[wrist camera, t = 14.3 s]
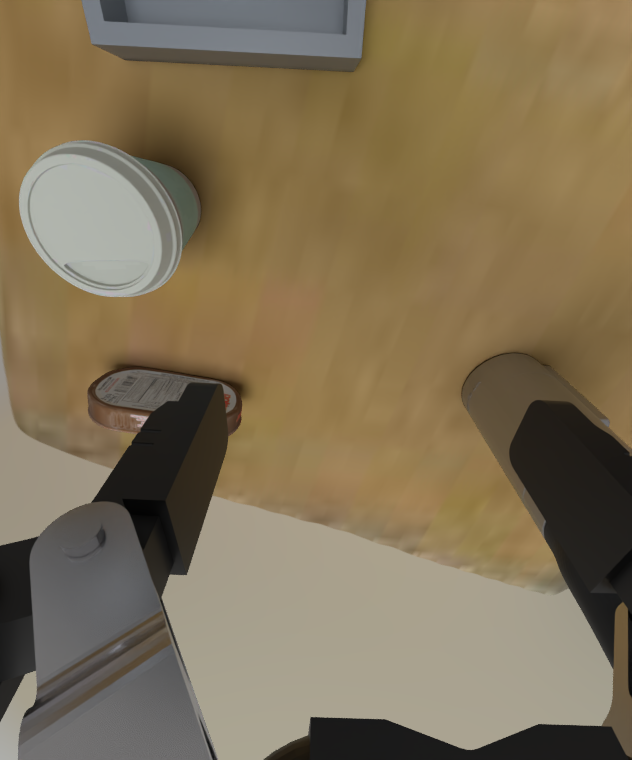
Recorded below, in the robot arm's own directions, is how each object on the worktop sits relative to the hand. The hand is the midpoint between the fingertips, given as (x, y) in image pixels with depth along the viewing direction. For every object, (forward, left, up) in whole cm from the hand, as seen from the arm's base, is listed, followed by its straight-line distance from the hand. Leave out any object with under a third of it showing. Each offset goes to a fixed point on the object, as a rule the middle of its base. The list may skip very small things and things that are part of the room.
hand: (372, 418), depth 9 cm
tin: (+16, +16, -26) cm, 35 cm away
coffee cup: (+14, -2, -26) cm, 29 cm away
